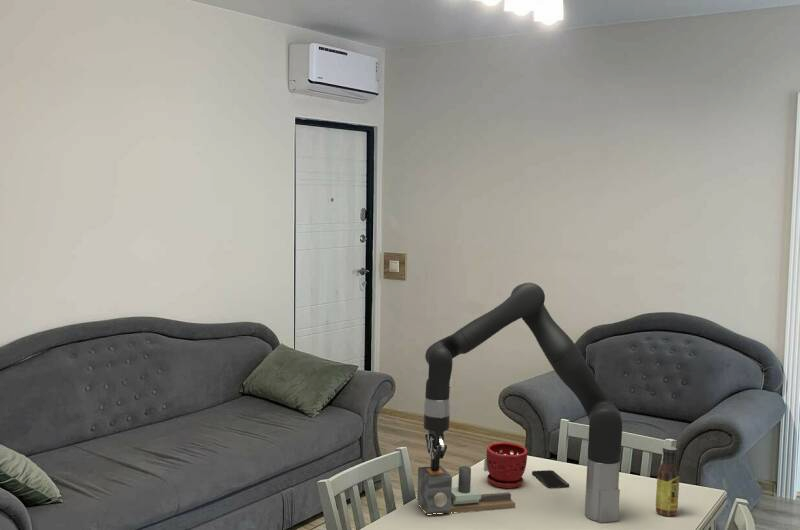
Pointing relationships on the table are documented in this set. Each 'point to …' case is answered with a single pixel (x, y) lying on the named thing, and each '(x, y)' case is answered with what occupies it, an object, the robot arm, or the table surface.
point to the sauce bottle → (667, 483)
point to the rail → (438, 497)
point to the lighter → (486, 463)
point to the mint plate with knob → (465, 488)
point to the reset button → (434, 472)
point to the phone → (550, 479)
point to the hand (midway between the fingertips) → (434, 470)
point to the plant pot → (506, 464)
